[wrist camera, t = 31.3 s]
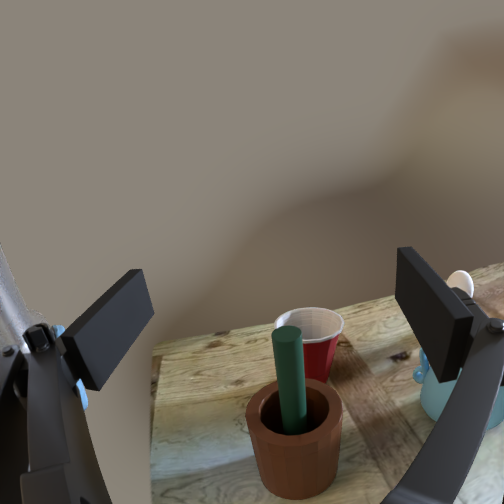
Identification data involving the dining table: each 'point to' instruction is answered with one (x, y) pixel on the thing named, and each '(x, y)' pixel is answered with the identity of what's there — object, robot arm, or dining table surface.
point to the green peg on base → (290, 378)
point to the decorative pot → (447, 393)
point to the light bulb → (461, 282)
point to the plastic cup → (315, 338)
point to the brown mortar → (296, 441)
